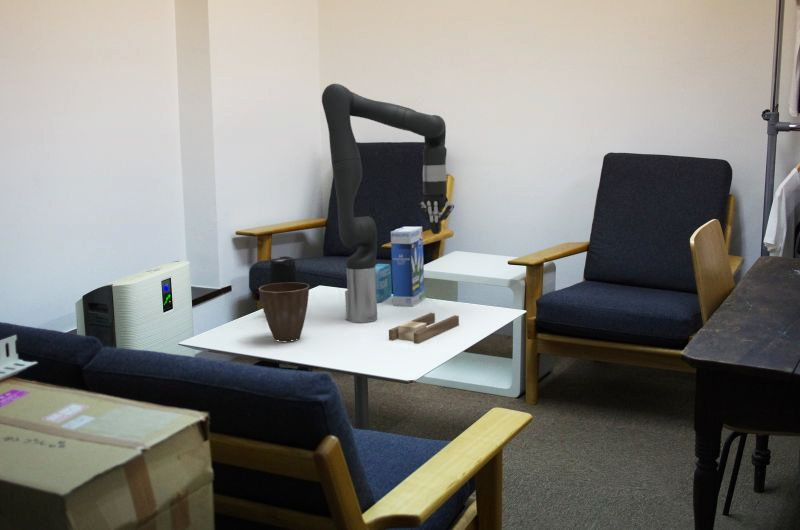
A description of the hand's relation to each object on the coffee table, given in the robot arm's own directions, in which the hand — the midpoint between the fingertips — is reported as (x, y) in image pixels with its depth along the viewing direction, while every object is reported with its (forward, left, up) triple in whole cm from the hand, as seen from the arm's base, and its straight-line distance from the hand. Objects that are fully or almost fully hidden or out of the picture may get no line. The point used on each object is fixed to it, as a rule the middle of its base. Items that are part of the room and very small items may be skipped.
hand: (436, 233), depth 295 cm
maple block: (+8, -29, -26) cm, 40 cm away
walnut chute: (+8, -22, -27) cm, 36 cm away
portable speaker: (-47, -21, -27) cm, 58 cm away
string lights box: (-20, +14, -27) cm, 37 cm away
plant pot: (-27, -44, -27) cm, 58 cm away
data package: (-32, +14, -27) cm, 44 cm away
